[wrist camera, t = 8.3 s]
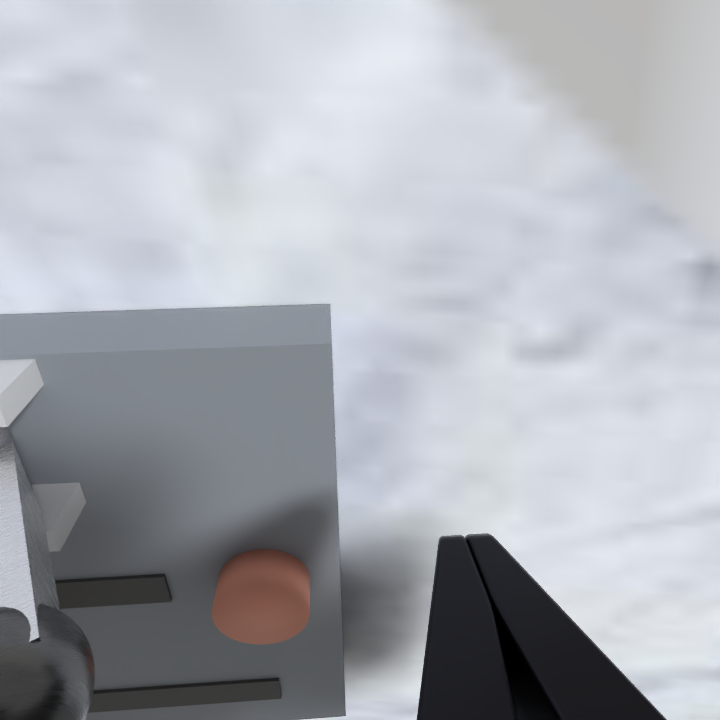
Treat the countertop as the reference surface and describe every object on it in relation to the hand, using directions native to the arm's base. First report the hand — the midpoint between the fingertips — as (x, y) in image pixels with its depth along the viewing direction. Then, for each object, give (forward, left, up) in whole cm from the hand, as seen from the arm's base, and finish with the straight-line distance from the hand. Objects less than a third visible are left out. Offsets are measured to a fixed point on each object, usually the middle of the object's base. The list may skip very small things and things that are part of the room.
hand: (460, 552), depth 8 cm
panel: (-9, -5, -6) cm, 12 cm away
